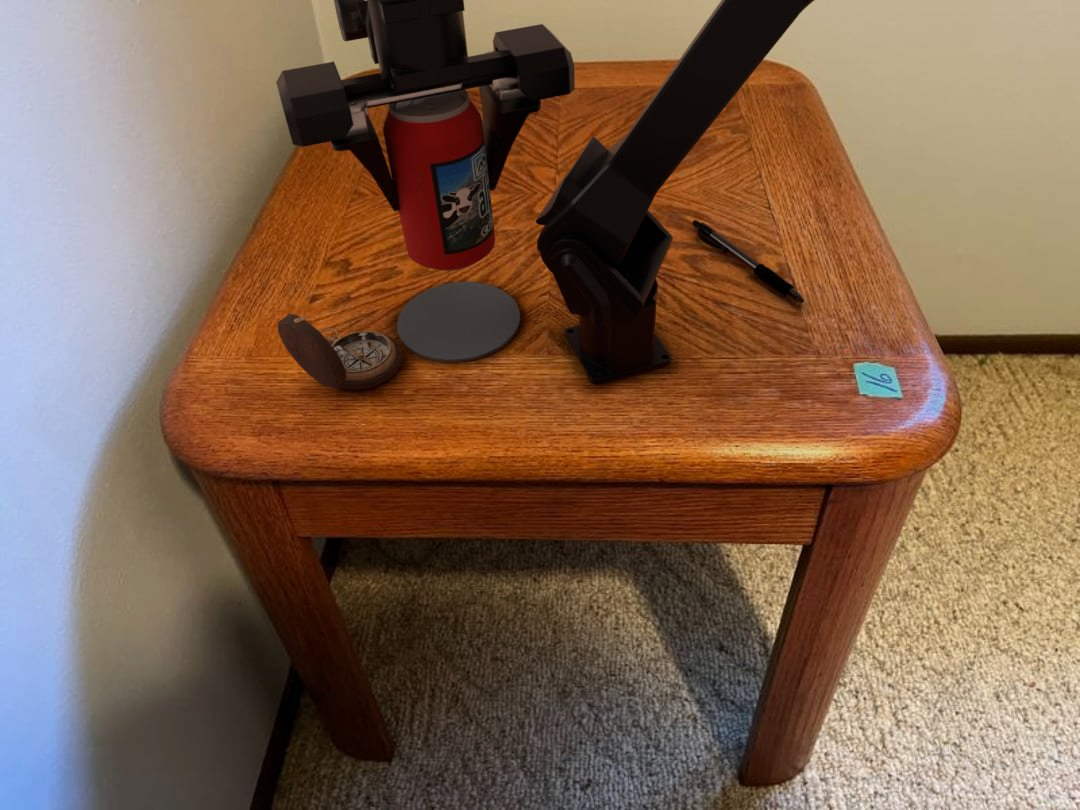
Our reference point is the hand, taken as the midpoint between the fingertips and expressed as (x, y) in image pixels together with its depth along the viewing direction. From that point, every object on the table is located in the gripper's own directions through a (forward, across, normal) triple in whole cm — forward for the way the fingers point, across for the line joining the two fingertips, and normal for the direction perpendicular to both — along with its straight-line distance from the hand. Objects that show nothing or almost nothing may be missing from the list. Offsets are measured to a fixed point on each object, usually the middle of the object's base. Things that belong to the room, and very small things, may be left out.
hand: (444, 197), depth 62 cm
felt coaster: (+11, 0, 0) cm, 11 cm away
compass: (+11, +10, +2) cm, 15 cm away
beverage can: (+5, 0, 0) cm, 5 cm away
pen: (+11, -24, +2) cm, 27 cm away
